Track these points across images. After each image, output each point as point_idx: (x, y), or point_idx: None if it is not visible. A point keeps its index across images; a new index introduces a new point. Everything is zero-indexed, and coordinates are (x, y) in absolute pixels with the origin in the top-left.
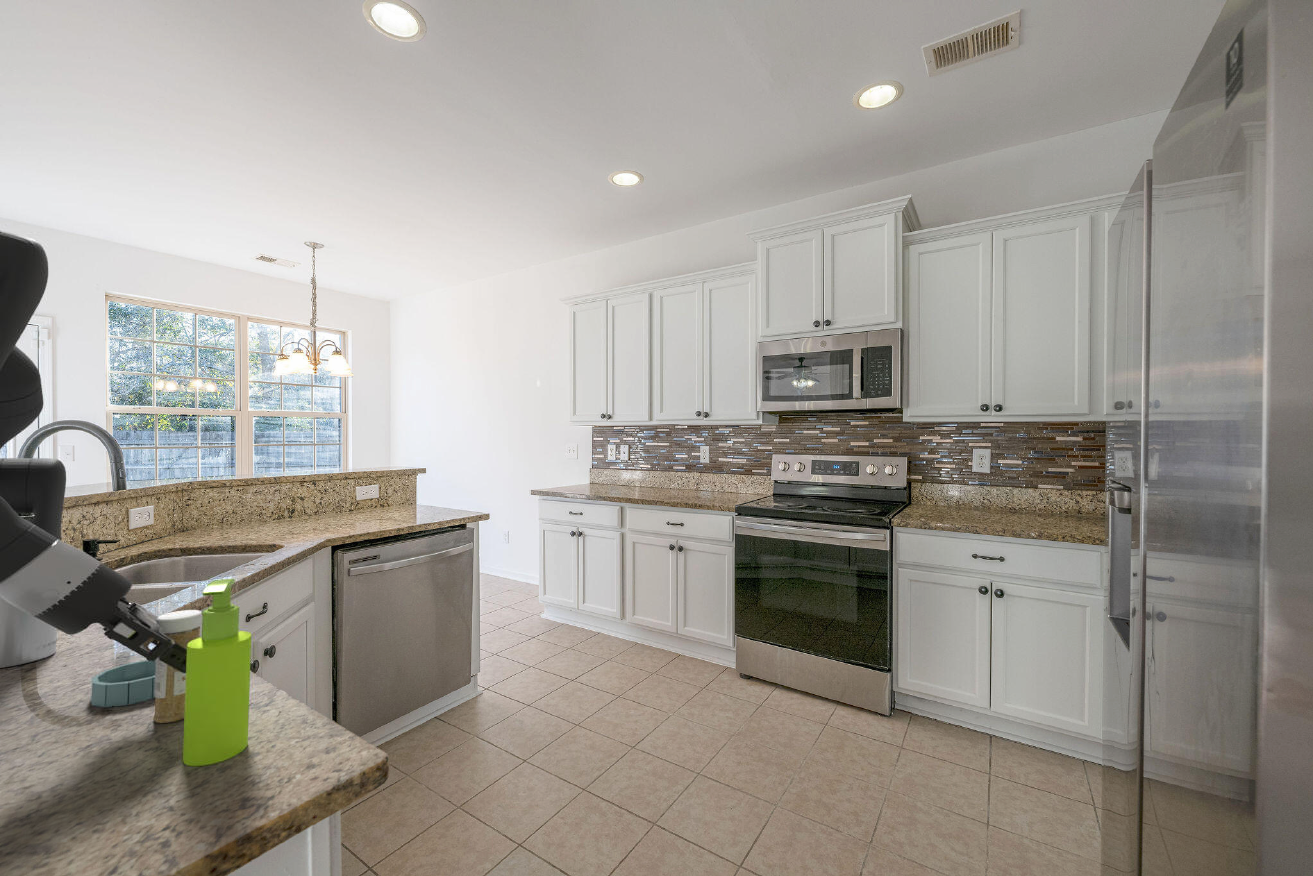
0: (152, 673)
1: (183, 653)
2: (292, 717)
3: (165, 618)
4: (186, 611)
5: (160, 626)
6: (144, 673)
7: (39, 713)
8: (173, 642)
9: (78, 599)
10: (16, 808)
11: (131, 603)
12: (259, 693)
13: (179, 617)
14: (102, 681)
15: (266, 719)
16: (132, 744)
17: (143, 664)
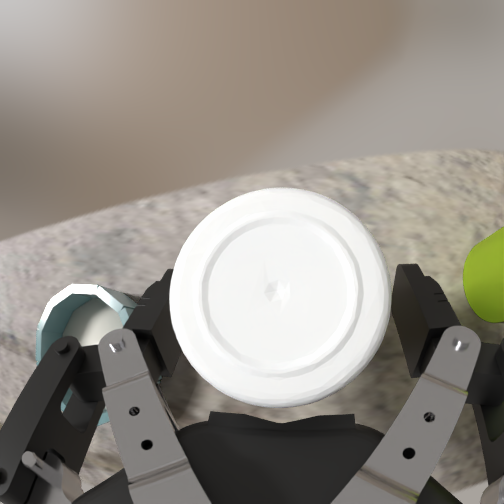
0: (63, 323)
1: (448, 305)
2: (441, 170)
3: (342, 372)
4: (231, 251)
5: (454, 392)
6: (57, 333)
7: (105, 467)
8: (473, 334)
9: None
10: (464, 486)
11: (12, 445)
12: (291, 185)
13: (377, 301)
14: (69, 397)
15: (427, 200)
16: (379, 391)
17: (45, 334)
